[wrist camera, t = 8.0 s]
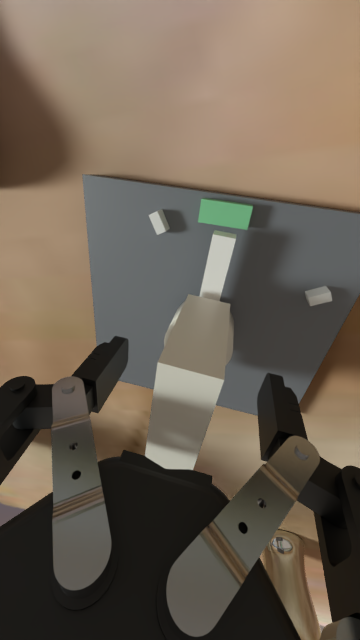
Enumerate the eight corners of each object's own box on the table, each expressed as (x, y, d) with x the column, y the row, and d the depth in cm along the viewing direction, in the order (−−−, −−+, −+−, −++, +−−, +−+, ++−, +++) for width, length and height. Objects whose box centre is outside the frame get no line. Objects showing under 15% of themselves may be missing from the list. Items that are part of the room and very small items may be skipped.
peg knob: (221, 366, 20) (209, 485, 12) (168, 352, 20) (125, 459, 12) (264, 235, 14) (291, 302, 6) (190, 221, 15) (135, 267, 7)
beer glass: (264, 548, 38) (276, 733, 25) (249, 526, 35) (254, 719, 23) (312, 552, 35) (352, 761, 23) (299, 528, 33) (337, 748, 20)
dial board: (285, 409, 23) (289, 433, 21) (106, 365, 25) (94, 382, 23) (386, 216, 14) (412, 222, 12) (95, 174, 16) (72, 174, 14)
